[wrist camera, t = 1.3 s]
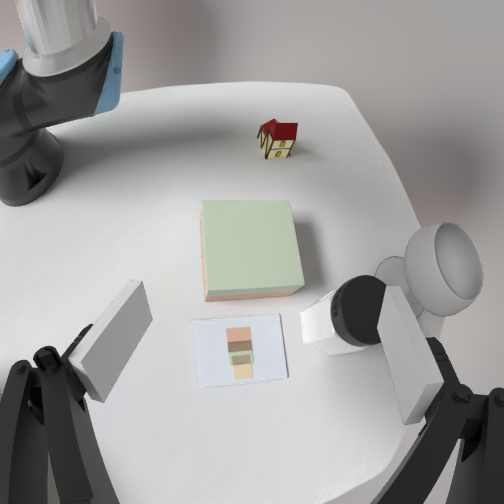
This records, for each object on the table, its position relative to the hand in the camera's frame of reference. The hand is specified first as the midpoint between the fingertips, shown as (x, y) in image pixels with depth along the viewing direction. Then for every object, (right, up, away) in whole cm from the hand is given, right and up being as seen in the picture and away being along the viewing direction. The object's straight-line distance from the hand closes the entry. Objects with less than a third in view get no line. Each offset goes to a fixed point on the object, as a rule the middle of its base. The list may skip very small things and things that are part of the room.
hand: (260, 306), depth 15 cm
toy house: (+1, +22, +38) cm, 44 cm away
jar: (+10, -8, +27) cm, 30 cm away
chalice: (+25, -4, +32) cm, 41 cm away
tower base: (-2, +2, +28) cm, 28 cm away
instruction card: (-2, -10, +23) cm, 25 cm away
